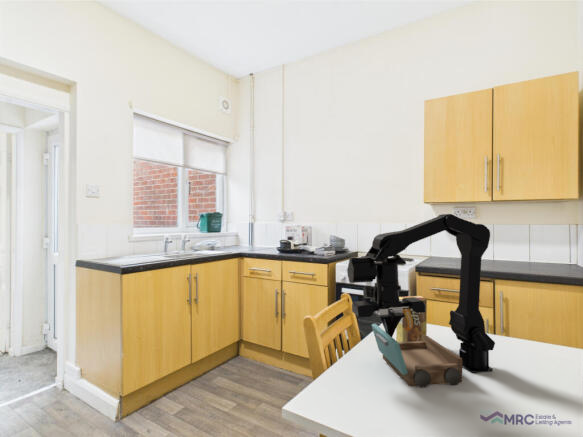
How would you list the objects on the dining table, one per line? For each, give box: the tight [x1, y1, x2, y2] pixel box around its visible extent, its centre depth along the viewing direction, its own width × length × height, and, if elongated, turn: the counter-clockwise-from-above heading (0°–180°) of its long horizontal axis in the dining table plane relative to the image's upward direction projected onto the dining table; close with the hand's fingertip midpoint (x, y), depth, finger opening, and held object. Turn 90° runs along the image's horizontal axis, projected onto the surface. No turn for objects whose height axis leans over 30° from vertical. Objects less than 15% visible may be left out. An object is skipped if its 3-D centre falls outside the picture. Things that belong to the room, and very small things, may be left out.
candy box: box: [395, 295, 428, 342], centre depth 105 cm, size 9×4×15 cm, turn 103°
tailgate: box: [371, 323, 408, 375], centre depth 86 cm, size 2×15×8 cm, turn 7°
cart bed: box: [382, 335, 463, 389], centre depth 87 cm, size 14×18×6 cm
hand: (389, 338), depth 86 cm, fingers closed
